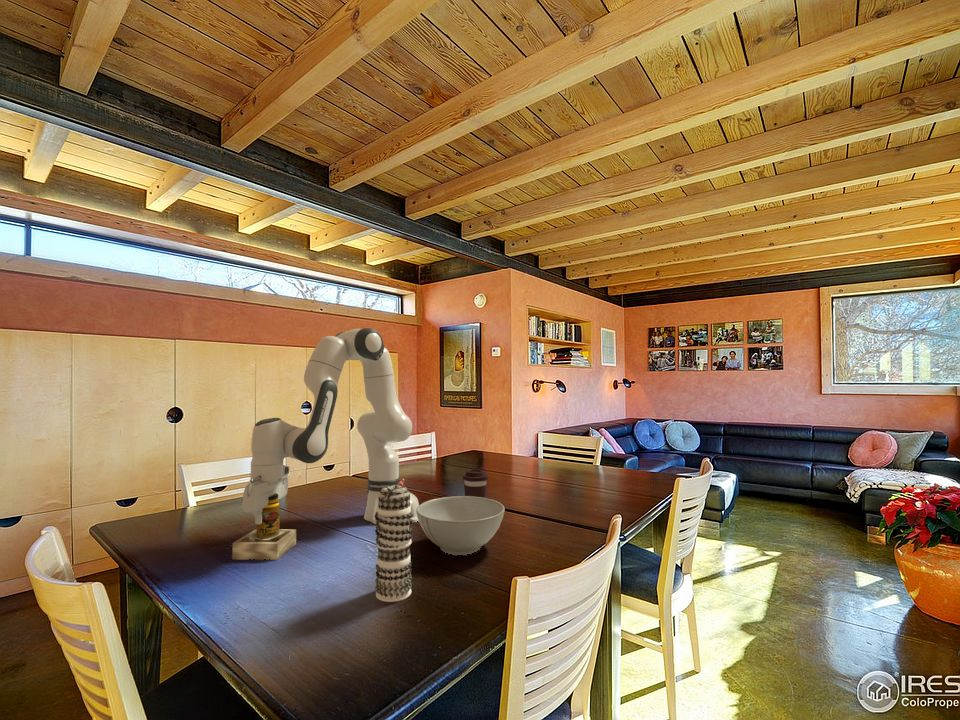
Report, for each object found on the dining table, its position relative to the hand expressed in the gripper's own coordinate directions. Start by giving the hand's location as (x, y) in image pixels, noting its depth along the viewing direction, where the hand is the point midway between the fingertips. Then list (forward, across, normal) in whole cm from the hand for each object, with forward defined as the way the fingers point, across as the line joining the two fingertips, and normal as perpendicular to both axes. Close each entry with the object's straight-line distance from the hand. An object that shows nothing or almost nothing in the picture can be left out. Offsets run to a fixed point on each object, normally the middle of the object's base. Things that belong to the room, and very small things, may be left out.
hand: (265, 519), depth 132 cm
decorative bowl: (+9, +4, -58) cm, 59 cm away
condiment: (+5, 0, 0) cm, 5 cm away
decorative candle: (+10, -25, -44) cm, 52 cm away
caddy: (+9, 0, 0) cm, 9 cm away
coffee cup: (+9, +44, -61) cm, 76 cm away
